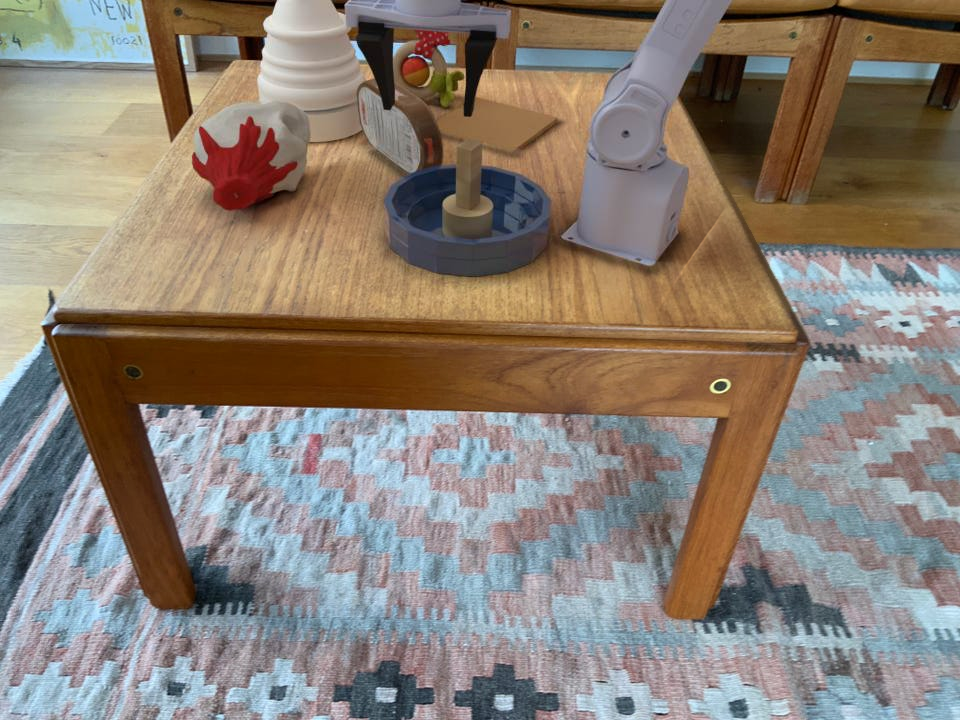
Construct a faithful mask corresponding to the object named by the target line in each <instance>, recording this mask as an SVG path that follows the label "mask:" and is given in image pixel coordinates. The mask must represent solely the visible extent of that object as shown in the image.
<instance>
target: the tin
mask: <svg viewBox="0 0 960 720" xmlns="http://www.w3.org/2000/svg"><path fill="white" fill-rule="evenodd" d="M394 84H395V103H394V105H393V107H392V109H391V110H384V109H383V104H382V100H381V96H380V92H379V89H378V86H377V83H376V80H375V78H374V77H373V78H370V79H366V81H364V82H362V83H361V84H360V85H359V87H358V89H357V93H356V95H357V103H358V111H359V119H360V125H361V128H362V130H361V131H362V133H363V135H364V137H365V139H366V140H367V142H368V144H369V146H371V147H373V148H374V149H375V150H376V151H378V152H379V153H380V154H381V155H383V156H384V157H385V158H387V159H388V160H389V161H390V162H392V163H393V164H395V165H396V166H397V167H398V168H400V169H402V170H403V171H404V172H406V173H407V174H409V173H412V172H416V171H419V170H423V169H426V168H429V167H433V166H443V165H442V164H443V159H444V145H443V139H442V134H441V131H440V130H439V127H438V124H437V122H436V121H437V119H436V117H435V115H434V114H433V112H432V110H431V108H430V107H429V106H428V104H427V103H426V102H425V101H424V99H420V98H419V97H417V96H416V95H414V94H412V93H411V92H409V91H408V90H406V89H405V88H403V87H402V86H400V85H399V84H397V83H396V82H394Z"/></svg>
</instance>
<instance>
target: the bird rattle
mask: <svg viewBox="0 0 960 720" xmlns="http://www.w3.org/2000/svg"><path fill="white" fill-rule="evenodd" d="M413 31H414V33H415V34H416V36H417V38H418V39H414V40H410V41H407V42H405V43H403V44H402V45H401V46H399V48H398V49H397V50H396V51H395V52H394V53H393V72H394V82H396V83H397V84H399V85H400V86H402V87H403V88H405V89H406V90H408V91H409V92H411V93H412V94H414V95H416V96H417V97H419V98H420V99H421V100H426V99H429V98H431V97H433V96H435V95H436V97H437V98H438V99H439V100H440V101H439V102H440V105H441V107H443V108H445V109H446V108H448V106H449V105H450V104H451V103H453V102H454V101H455V95H454V93H453V92H456V91H458V90H459V82H460V81H464V80H465V74H464V72H462V71H461V70H454V71H452V72H449V71H448V67H447V62H446V59H445V57H444V55H443V53H442V51H440V49H439V48H438V47H439V46H442V47H447V46H450V44H451V38H450V36H449V32H439V31H426V30H413ZM411 55H412V56H411ZM426 60H428V61H430V62H431V63H430V64H428V62H427V61H426ZM432 66H433V71H432V75H431V69H430V67H432ZM430 75H431V77H430ZM429 78H430V80H429ZM428 81H429V82H428ZM427 82H428V84H427V85H425V84H426V83H427ZM424 85H425V86H424Z"/></svg>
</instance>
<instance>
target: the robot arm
mask: <svg viewBox="0 0 960 720" xmlns="http://www.w3.org/2000/svg"><path fill="white" fill-rule="evenodd" d="M732 2H733V0H665V1H664V4H663V5H662V7H661V9H660V10H659V12H658V14H657V16H656V18H655V19H654V21H653V23H652V24H651V27H650V28H649V30H648V32H647V34H646V35H645V37H644V39H643V40H642V41H641V43H640V45H639V46H638V48H637V50H636V52H635V53H634V55H633V57H632V58H631V59H630V60H629V61H628V62H627V63H626V64H625V65H622V67H620V68H619V69H617V70H616V71H615V72H614V73H613V74H612V75H611V76H610V77H609V79H608V81H607V82H606V85H605V89H604V92H603V96H602V99H601V101H600V103H599V105H598V107H597V109H596V110H595V112H594V113H593V115H592V117H591V120H590V123H589V128H588V129H589V130H588V131H589V132H588V135H589V139H588V141H587V145H586V154H585V162H584V168H583V170H584V171H583V176H582V184H581V192H580V198H579V199H580V200H579V208H578V215H577V219H576V221H575V222H573V224H571V225H570V227H568V228H567V229H566V230H565V232H563V234H561V236H560V238H561V239H562V240H565V241H567V242H570V243H574V244H576V245H580V246H583V247H585V248H590V249H593V250H596V251H598V252H602V253H606V254H609V255H612V256H615V257H618V258H622V259H625V260H628V261H631V262H634V263H638V264H641V265H644V266H647V267H652V266H654V265H655V264H656V262H657V261H658V260H659V258H661V256H662V255H663V254H664V253H665V251H666V249H667V248H668V247H669V245H670V244H671V243H672V242H673V240H674V239H675V238H676V237H677V235H678V234H679V230H678V229H679V225H680V220H681V215H682V213H683V212H682V211H683V206H684V203H685V198H686V194H687V189H688V185H689V179H690V178H689V177H690V168H689V167H688V166H687V165H685V164H682V163H679V162H677V161H675V160H674V159H672V158H671V157H669V156H668V155H667V154H668V147H667V145H666V144H665V142H664V138H665V131H666V123H667V119H668V115H669V113H670V111H671V109H672V107H673V106H674V104H675V103H676V101H677V99H678V96H679V94H680V92H681V90H682V88H683V86H684V84H685V81H686V79H687V78H688V75H689V73H690V71H691V69H692V68H693V66H694V64H695V63H696V61H697V59H698V57H699V56H700V54H701V53H702V51H703V50H704V48H705V46H706V44H707V43H708V41H709V39H710V38H711V37H712V35H713V34H714V31H715V30H716V28H717V26H718V25H719V23H720V22H721V20H722V18H723V17H724V15H725V13H726V11H727V10H728V8H729V7H730V5H731V3H732ZM344 15H345V17H346V27H352V29H353V28H354V29H355V28H356V29H357V28H358V29H357V34H356V36H355V41H356V45H357V47H358V49H359V50H360V52H361V53H362V56H363V57H364V60H366V62H367V64H368V66H369V69H370V71H371V73H372V75H373V79H374V78H375V80H376V83H377V86H378V89H379V92H380V96H381V100H382V104H383V109H384V110H391V109H392V107H393V105H394V103H395V84H394V72H393V56H394V37H395V29H401V30H413V31H414V30H426V31H439V32H448V33H452V34H453V33H454V34H468V35H469V36H468V37H467V39H466V41H465V43H464V65H465V66H464V67H465V88H464V98H463V105H464V116H465V117H471V116H472V113H473V110H474V103H475V97H477V91H478V88H479V84H480V82H481V81H480V80H481V77H482V75H483V73H484V70H485V68H486V66H487V64H488V61H489V60H490V57H491V55H492V53H493V51H494V49H495V46H496V43H497V40H498V39H500V40H508V39H509V36H510V33H511V22H512V21H511V20H512V19H511V18H512V10H511V9H503V8H495V7H488V6H484V5H477V4H472V3H467V2H462V1H461V0H347V1H346V3H345V4H344ZM637 259H639V260H637Z"/></svg>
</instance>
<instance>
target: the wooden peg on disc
mask: <svg viewBox="0 0 960 720" xmlns="http://www.w3.org/2000/svg"><path fill="white" fill-rule="evenodd" d="M483 144H484V143H482V142H478V141H475V140H471V139H467V138H465V139H464V141H462V142H460V143H459V144H457V145H456V159H455V160H456V161H455V162H456V163H455V164H456V194H453V195H451V196H449V197H447V198H446V199H445V200H444V201H443V211H442V232H443V235H444V236H445V237H453V238H463V239H482V238H490V236H491V234H492V219H493V203H492V201H491V200H490V199H489V198H487V197H485V196H483V195H480V193H481V168H482V165H483V164H482V163H483Z"/></svg>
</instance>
